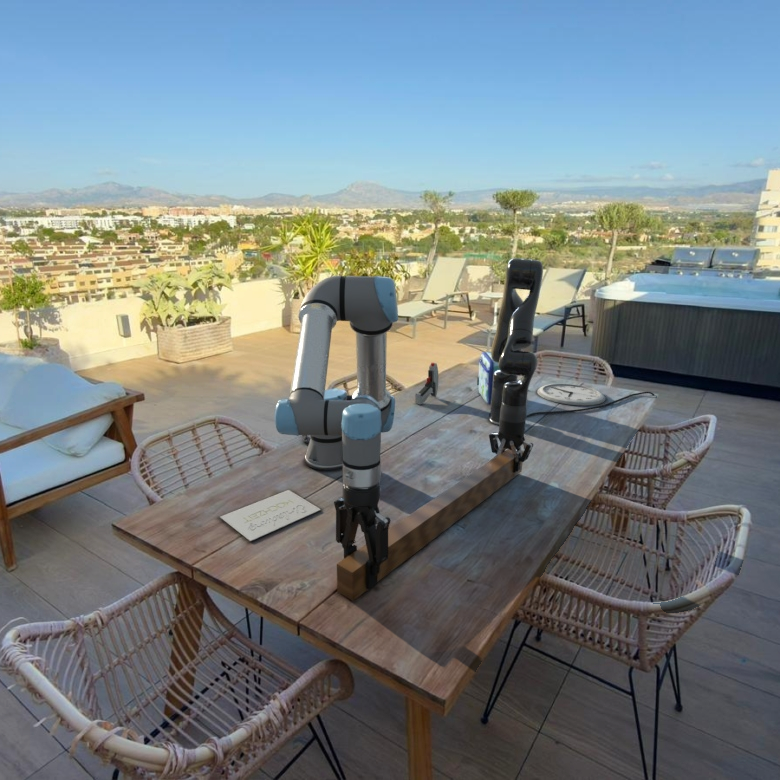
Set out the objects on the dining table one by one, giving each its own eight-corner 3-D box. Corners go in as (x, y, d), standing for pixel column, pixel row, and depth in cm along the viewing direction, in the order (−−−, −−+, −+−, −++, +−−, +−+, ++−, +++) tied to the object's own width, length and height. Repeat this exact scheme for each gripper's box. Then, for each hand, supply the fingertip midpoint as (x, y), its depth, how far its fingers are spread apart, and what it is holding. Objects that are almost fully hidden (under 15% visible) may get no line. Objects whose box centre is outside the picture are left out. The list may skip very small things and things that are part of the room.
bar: (508, 467, 165) (510, 447, 163) (521, 471, 163) (523, 451, 160) (337, 591, 109) (336, 563, 107) (352, 601, 107) (352, 572, 104)
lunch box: (475, 390, 246) (478, 346, 240) (498, 390, 246) (501, 347, 240) (484, 408, 221) (487, 360, 215) (509, 409, 221) (513, 360, 215)
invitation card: (288, 489, 150) (320, 509, 140) (288, 490, 150) (320, 510, 140) (219, 516, 136) (250, 540, 125) (219, 517, 136) (250, 541, 126)
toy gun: (414, 370, 220) (434, 361, 231) (415, 405, 226) (434, 395, 237) (419, 371, 219) (438, 362, 230) (419, 406, 225) (438, 396, 236)
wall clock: (618, 401, 228) (551, 402, 225) (618, 405, 228) (551, 406, 226) (588, 382, 256) (528, 382, 254) (587, 385, 257) (528, 385, 254)
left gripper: (316, 474, 107) (318, 570, 114) (384, 504, 96) (382, 608, 103) (342, 462, 112) (343, 554, 119) (409, 489, 101) (406, 589, 108)
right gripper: (485, 414, 156) (481, 466, 161) (529, 426, 147) (524, 481, 152) (497, 408, 161) (493, 458, 167) (541, 419, 153) (535, 472, 158)
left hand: (361, 579), depth 111 cm, fingers open, 5 cm apart
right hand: (508, 469), depth 160 cm, fingers closed on bar, 4 cm apart
